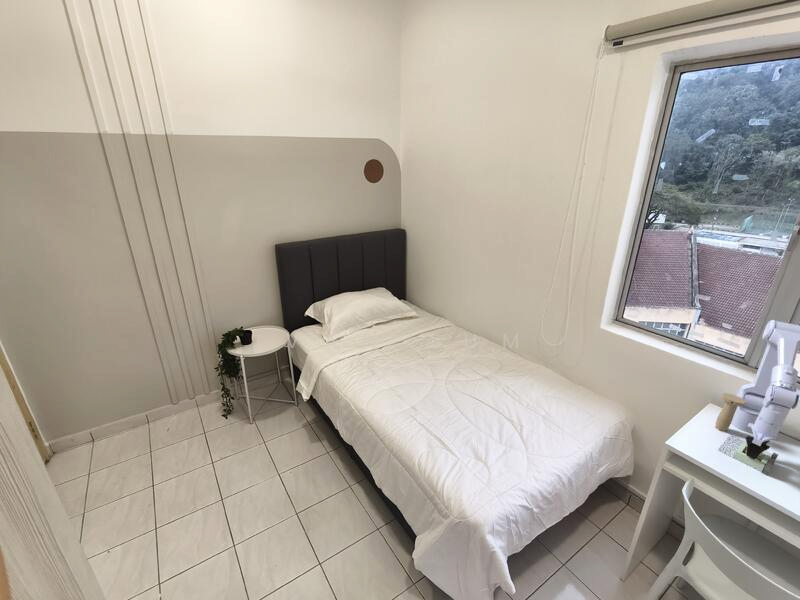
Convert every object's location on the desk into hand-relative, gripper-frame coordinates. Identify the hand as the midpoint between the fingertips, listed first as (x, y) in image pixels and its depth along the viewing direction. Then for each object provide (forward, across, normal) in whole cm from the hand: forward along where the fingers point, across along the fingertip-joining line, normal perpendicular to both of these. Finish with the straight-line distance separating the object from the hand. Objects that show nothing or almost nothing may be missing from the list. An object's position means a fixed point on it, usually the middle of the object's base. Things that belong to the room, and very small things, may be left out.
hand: (753, 452), depth 124 cm
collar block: (+3, 0, 0) cm, 3 cm away
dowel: (+3, 0, 0) cm, 3 cm away
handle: (+4, -10, -11) cm, 15 cm away
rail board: (+4, -2, -1) cm, 5 cm away
